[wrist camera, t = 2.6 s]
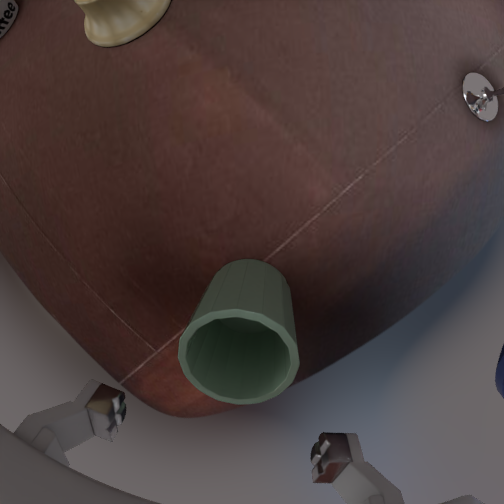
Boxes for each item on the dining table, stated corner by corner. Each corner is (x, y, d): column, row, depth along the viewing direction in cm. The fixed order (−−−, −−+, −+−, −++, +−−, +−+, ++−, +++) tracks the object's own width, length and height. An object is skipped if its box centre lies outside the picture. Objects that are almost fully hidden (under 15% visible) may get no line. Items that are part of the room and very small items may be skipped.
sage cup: (300, 268, 21) (314, 324, 14) (279, 340, 23) (280, 412, 15) (214, 250, 21) (184, 296, 14) (202, 324, 23) (175, 389, 15)
